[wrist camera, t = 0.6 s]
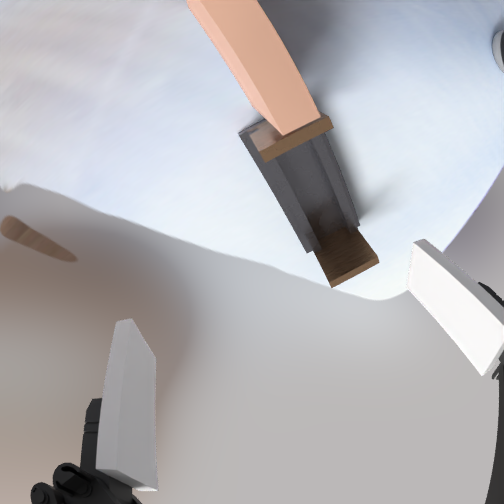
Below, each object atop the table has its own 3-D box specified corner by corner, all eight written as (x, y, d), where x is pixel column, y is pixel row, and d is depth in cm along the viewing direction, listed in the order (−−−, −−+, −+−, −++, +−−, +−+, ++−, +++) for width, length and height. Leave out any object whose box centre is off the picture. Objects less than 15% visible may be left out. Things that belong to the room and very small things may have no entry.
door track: (306, 98, 29) (338, 111, 22) (357, 221, 41) (385, 259, 34) (238, 133, 31) (248, 157, 24) (305, 249, 43) (324, 291, 36)
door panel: (214, -5, 21) (220, -50, 10) (275, 94, 29) (320, 116, 18) (189, 8, 21) (176, -30, 10) (252, 106, 29) (283, 135, 18)
